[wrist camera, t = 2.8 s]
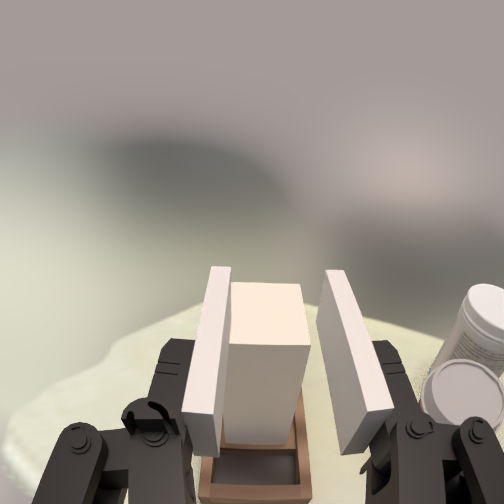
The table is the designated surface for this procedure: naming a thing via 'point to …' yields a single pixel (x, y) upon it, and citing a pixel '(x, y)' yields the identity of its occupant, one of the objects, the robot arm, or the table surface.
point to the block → (264, 362)
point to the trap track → (260, 470)
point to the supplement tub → (477, 330)
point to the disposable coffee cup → (463, 393)
